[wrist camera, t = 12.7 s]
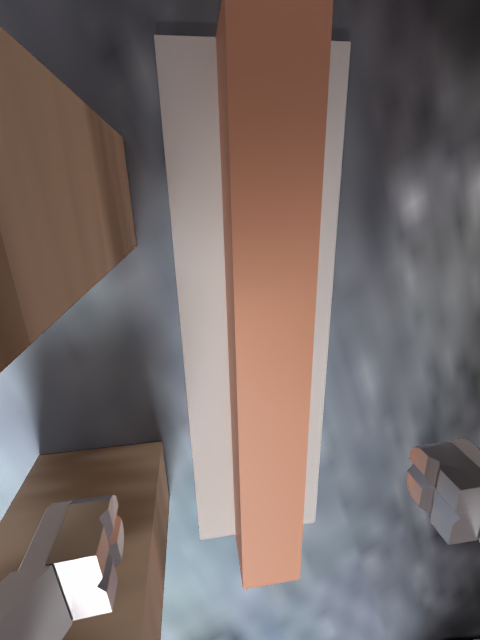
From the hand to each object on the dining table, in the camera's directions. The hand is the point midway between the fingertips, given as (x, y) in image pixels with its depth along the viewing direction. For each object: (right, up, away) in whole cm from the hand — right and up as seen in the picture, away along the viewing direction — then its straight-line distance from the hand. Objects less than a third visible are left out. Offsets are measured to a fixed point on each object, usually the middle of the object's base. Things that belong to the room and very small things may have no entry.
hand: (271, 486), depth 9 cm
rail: (0, +3, +7) cm, 7 cm away
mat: (0, +3, +7) cm, 8 cm away
